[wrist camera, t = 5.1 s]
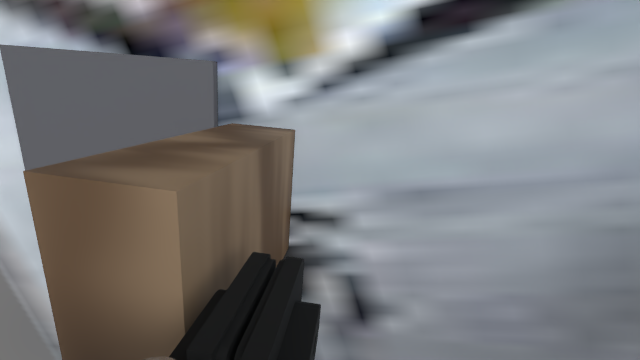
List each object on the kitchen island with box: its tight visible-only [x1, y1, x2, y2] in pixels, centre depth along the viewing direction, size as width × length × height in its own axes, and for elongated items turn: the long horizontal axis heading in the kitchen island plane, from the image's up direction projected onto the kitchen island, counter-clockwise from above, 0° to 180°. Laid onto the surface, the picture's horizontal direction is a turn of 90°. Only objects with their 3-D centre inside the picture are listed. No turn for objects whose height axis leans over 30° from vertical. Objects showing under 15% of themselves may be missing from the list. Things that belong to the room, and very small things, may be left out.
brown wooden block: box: [23, 123, 295, 360], centre depth 14 cm, size 4×8×12 cm, turn 175°
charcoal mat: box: [0, 45, 218, 171], centre depth 20 cm, size 14×15×1 cm
